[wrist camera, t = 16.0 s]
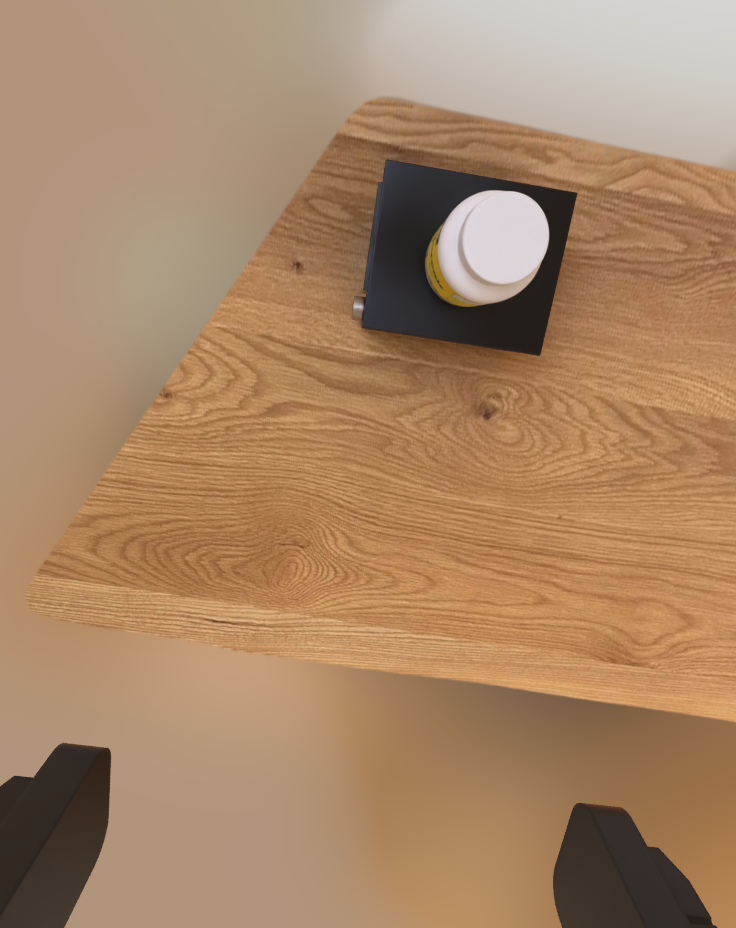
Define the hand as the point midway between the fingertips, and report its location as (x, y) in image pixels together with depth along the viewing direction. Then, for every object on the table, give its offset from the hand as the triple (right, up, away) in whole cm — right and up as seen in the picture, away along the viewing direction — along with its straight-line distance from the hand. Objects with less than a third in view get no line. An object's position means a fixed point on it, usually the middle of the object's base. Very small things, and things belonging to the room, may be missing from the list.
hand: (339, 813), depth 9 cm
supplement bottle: (+7, +19, +25) cm, 32 cm away
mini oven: (+7, +21, +32) cm, 39 cm away
